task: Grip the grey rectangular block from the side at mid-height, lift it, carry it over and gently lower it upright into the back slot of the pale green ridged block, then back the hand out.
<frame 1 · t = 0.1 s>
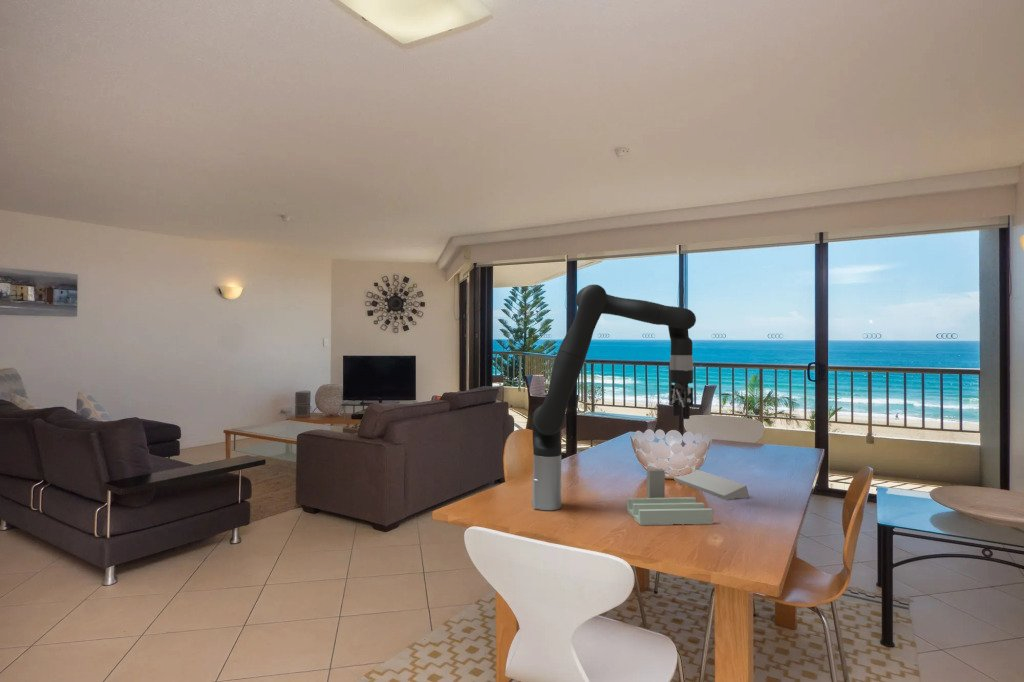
hand: (680, 417, 185), 29 cm above the table, tool pointing down, fingers open, 8 cm apart
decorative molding: (703, 489, 208), on the table
grey rectangular block: (655, 506, 183), on the table
pale green ridged block: (668, 517, 171), on the table
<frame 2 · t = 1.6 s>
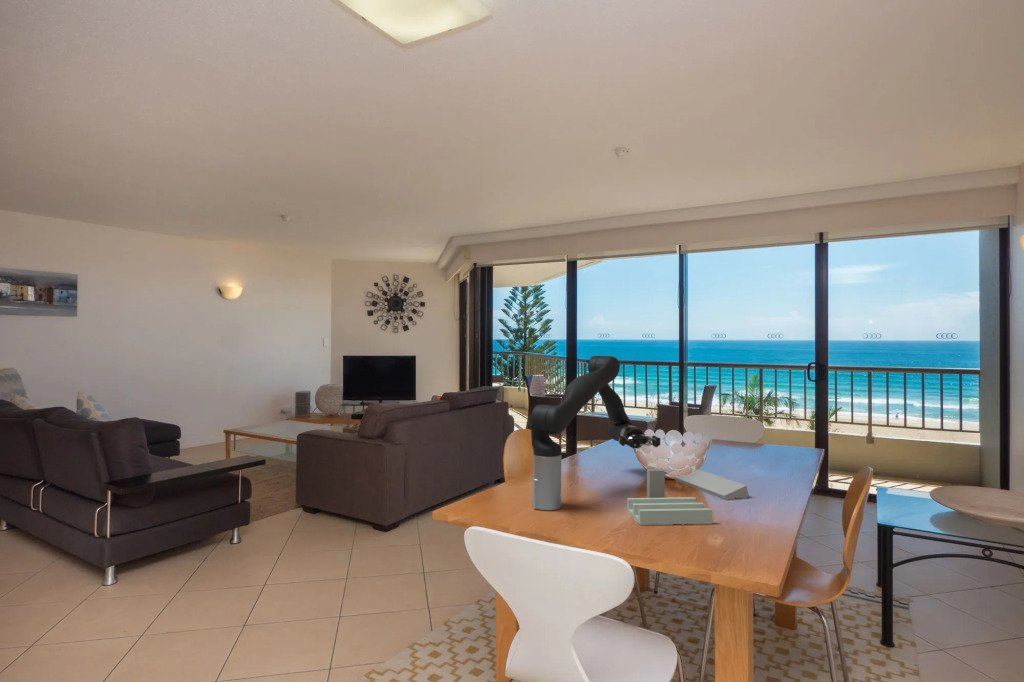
hand: (645, 444, 195), 18 cm above the table, tool horizontal, fingers open, 8 cm apart
nothing on the table moved.
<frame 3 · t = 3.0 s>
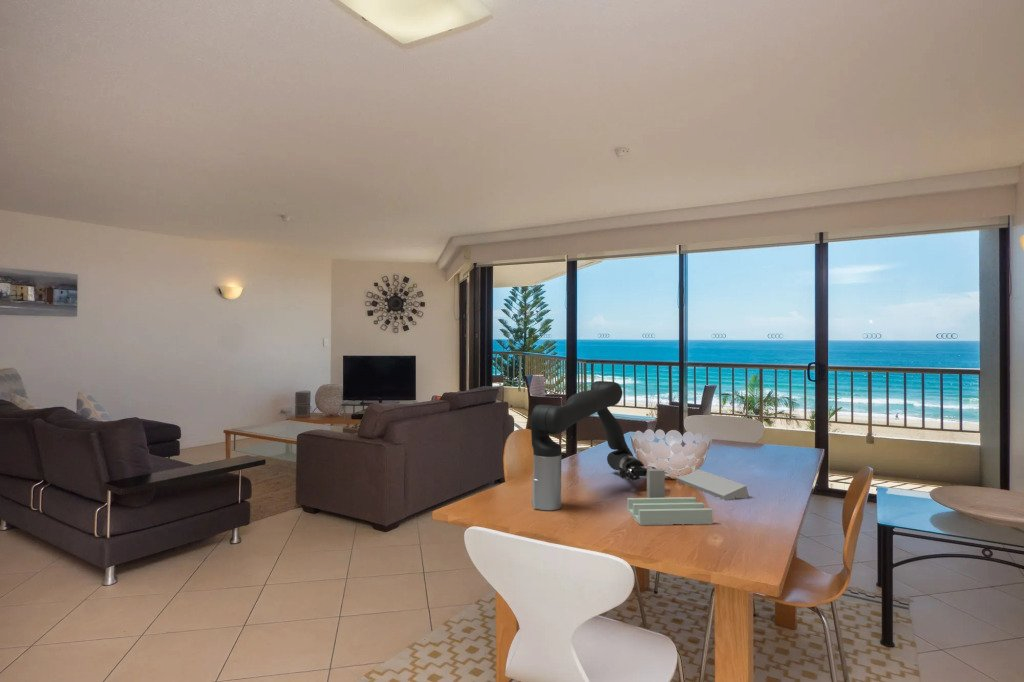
hand: (644, 477, 195), 7 cm above the table, tool horizontal, fingers open, 8 cm apart
nothing on the table moved.
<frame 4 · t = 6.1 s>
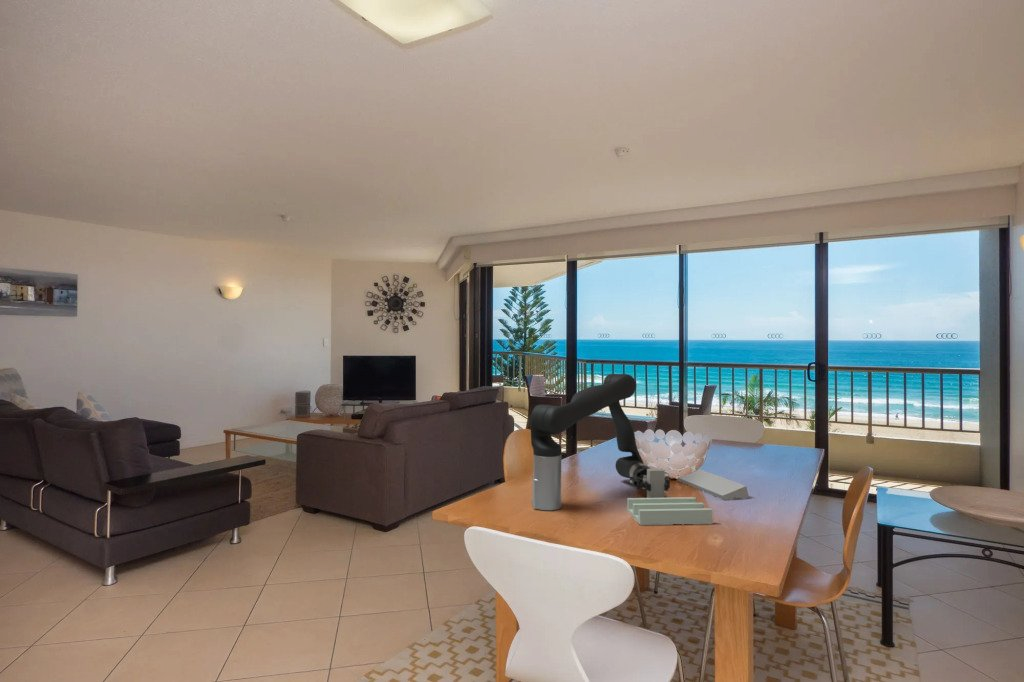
hand: (658, 488, 181), 7 cm above the table, tool horizontal, fingers closed on grey rectangular block, 5 cm apart
grey rectangular block: (655, 505, 183), on the table, touching gripper
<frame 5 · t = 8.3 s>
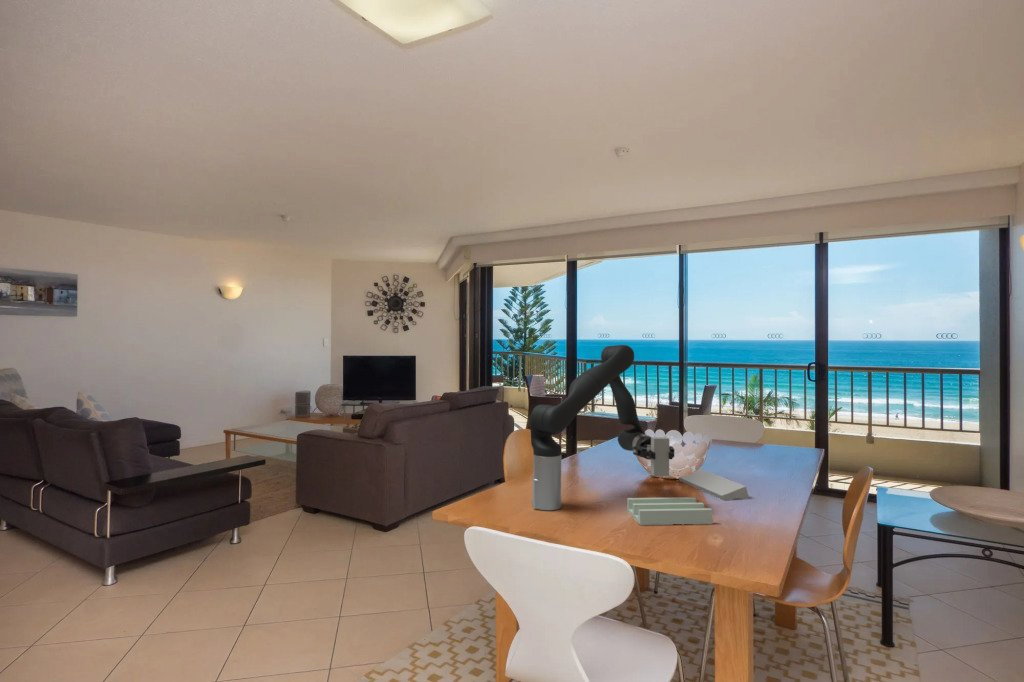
hand: (662, 456, 176), 18 cm above the table, tool horizontal, fingers closed on grey rectangular block, 5 cm apart
grey rectangular block: (659, 475, 179), point 11 cm above the table, touching gripper
when the fingers open (9 cm above the table, at t = 11.2 s): grey rectangular block drops 1 cm, resting on pale green ridged block.
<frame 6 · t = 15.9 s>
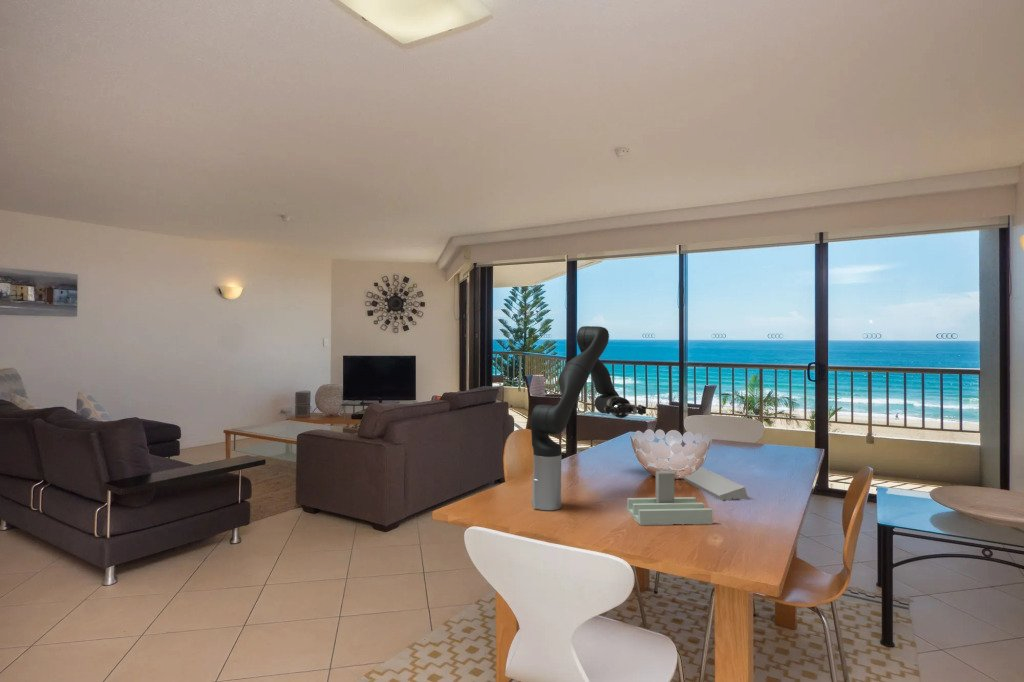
hand: (630, 411, 192), 30 cm above the table, tool horizontal, fingers open, 8 cm apart
grey rectangular block: (664, 510, 174), point 1 cm above the table, touching pale green ridged block
at the end: grey rectangular block inside the target area on the pale green ridged block (0.1 cm from its centre), point 1.2 cm above the pale green ridged block's base; grey rectangular block tilted 0°; the gripper is holding nothing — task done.
